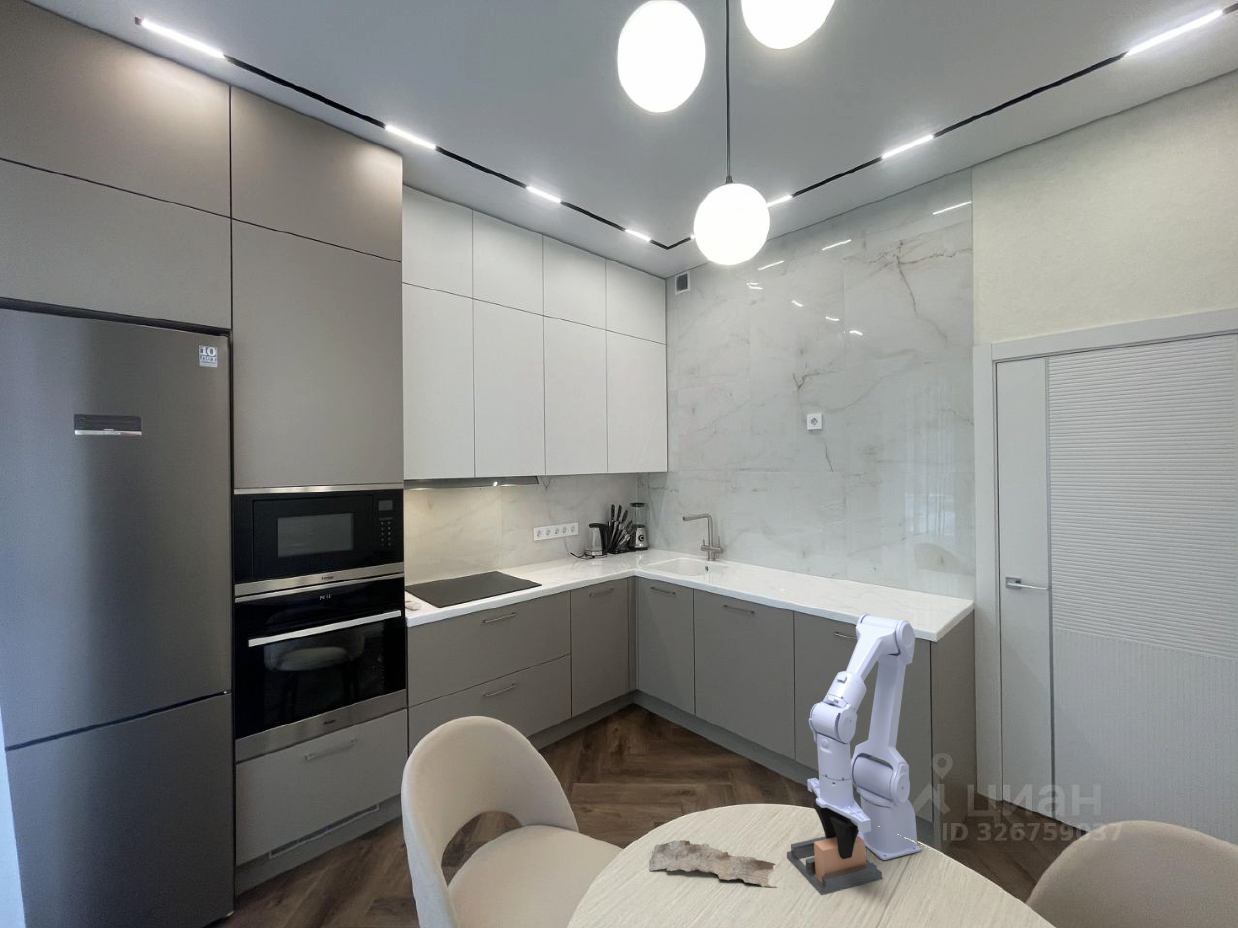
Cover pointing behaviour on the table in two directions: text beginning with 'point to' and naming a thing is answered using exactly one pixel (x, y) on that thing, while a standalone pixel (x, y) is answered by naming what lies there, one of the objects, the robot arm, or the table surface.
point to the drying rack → (835, 879)
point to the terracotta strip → (836, 857)
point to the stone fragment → (710, 862)
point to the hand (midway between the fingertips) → (839, 851)
